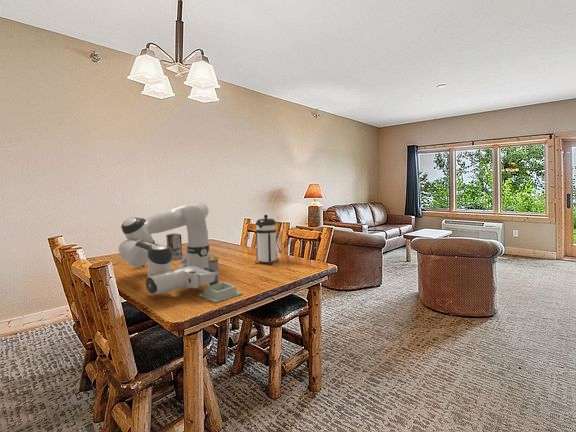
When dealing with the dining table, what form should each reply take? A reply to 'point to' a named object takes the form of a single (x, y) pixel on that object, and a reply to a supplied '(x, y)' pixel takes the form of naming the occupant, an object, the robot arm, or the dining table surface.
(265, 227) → the coffee press
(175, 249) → the coffee box
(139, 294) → the dining table surface
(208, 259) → the pin
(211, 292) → the green square tray
